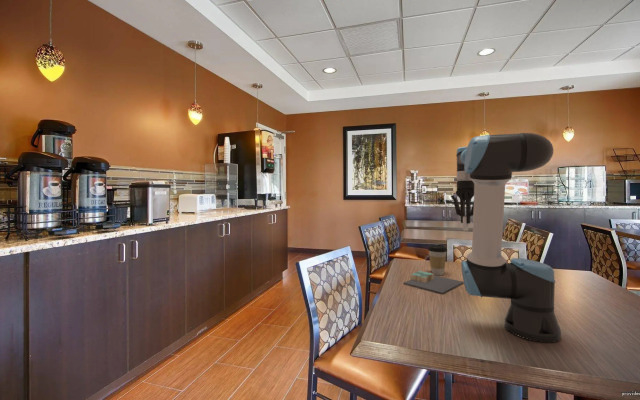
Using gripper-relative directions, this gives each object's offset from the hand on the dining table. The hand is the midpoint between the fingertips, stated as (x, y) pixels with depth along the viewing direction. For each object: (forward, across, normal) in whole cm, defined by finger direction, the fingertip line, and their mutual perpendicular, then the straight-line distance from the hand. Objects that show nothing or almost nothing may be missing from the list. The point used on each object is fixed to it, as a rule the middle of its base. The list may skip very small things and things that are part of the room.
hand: (465, 230), depth 140 cm
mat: (+27, +14, +4) cm, 31 cm away
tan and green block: (+25, +16, +4) cm, 30 cm away
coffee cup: (+27, +20, -14) cm, 37 cm away
